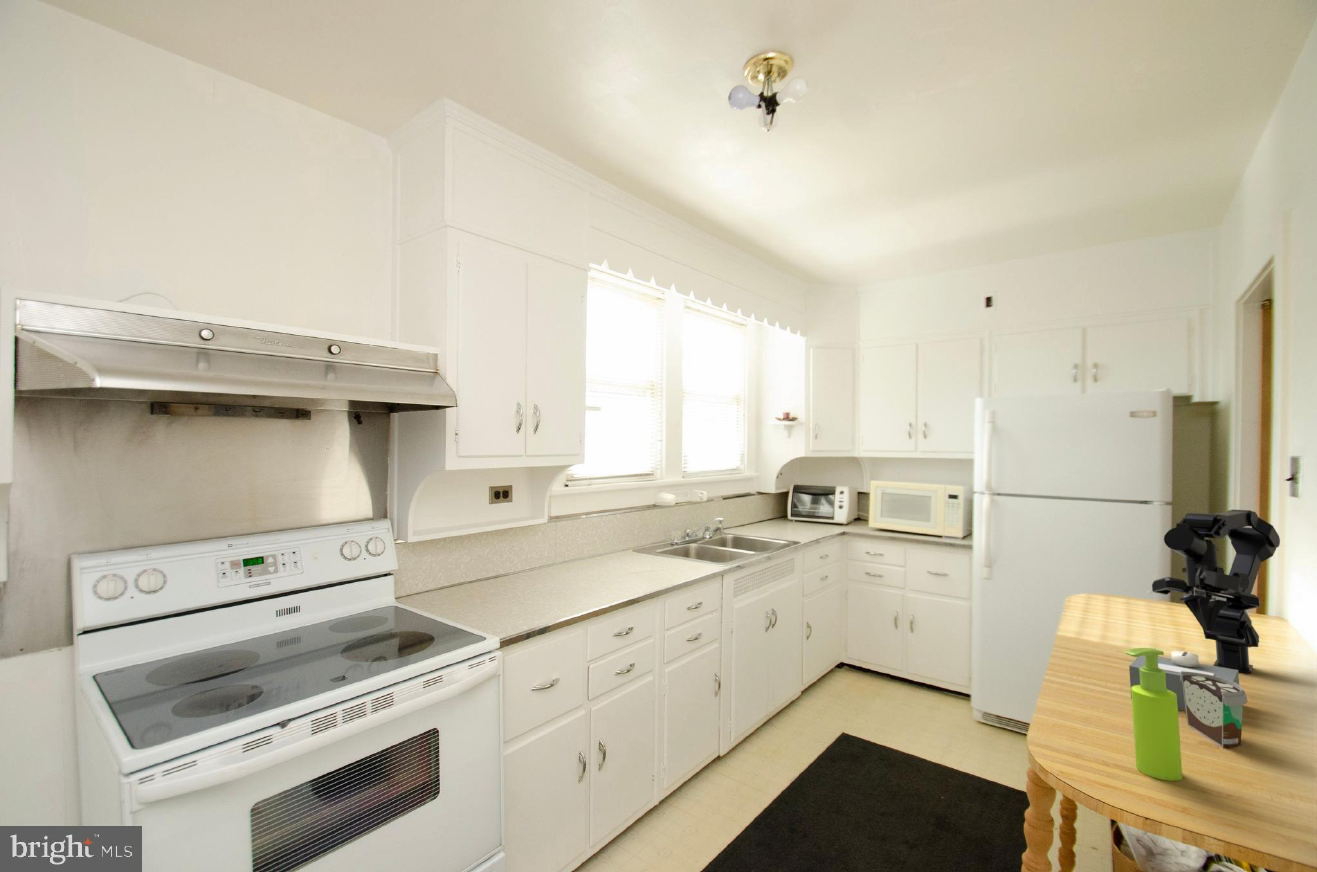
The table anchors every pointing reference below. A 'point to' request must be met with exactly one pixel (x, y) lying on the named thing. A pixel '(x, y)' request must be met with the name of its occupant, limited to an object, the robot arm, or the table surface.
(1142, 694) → the soap dispenser
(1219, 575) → the robot arm
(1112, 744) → the table surface
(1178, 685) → the console
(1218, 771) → the table surface
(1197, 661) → the knob
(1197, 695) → the food container
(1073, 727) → the table surface
